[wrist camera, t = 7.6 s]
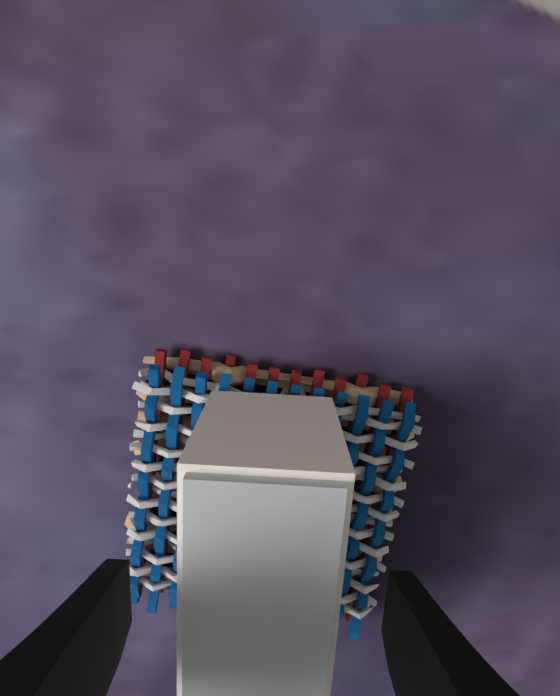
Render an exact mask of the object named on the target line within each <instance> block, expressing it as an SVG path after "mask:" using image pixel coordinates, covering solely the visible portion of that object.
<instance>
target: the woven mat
mask: <svg viewBox="0 0 560 696" xmlns="http://www.w3.org/2000/svg"><path fill="white" fill-rule="evenodd" d="M190 355H191V352H190V351H185V350H181V353H180V357H167V350H165V349H156V350H155V357H144V359H143V363H146V364H150V367H149V368H146V369H142V370H139V376H141V377H142V376H146V375H148V383H146V382H143V381H141V382H140V383H138V382H134V384H133V386H132V389H134V390H137V392H136V394H137V395H138V396H139V397H141V398H142V399H143V400H144V401H138V408H139V407H144V411H139V412H138V418H137V421H136V422H135V424H136V425H137V427H140V428H142V429H144V431H141V430H136V429H134V434H133V437H138V438H141V439H138V440H136V441H134V442H132V443H130V451H133V450H134V453H135V455H141V458H142V462H140V461H138V460H136V459H135V460H134V461H132V462H131V464H132V467H134V468H137V469H139V473H138V474H132V480H133V481H134V482H130V484H129V485H128V487H129V488H130V489H133V488H138V491H139V497H138V499H137V498H135V497H133V496H131V495H130V494H128V496H127V499H126V501H127V502H129V503H131V504H133V505H134V506H136V510H135V511H129V514H128V515H127V518H126V521H125V526H126V527H127V528H128V531H127V533H126V534H127V535H128V536H130V537H131V538H128V539H127V542H126V543H128V544H133V545H132V548H131V549H126V556H130V557H131V564H129V566H130V590H131V603H138V601H139V600H140V597H141V594H142V588H143V585H144V586H145V587H147V588H148V589H150V595H149V600H148V606H147V613H156V612H157V605H158V597H159V592H160V593H163V589H164V588H166V587H169V586H170V591H169V599H170V605H169V608H174V609H177V536H176V535H174V534H172V533H171V532H177V516H176V517H171V512H172V510H174V511H176V512H177V489H175V488H177V462H178V457H180V456H181V454H182V452H183V450H184V448H185V446H186V443H187V441H188V439H189V437H190V435H191V433H192V431H193V429H194V427H195V425H196V423H197V420H198V418H199V416H200V414H201V412H202V410H203V408H204V406H205V404H206V402H207V400H208V397H209V395H210V393H211V391H208V390H215V391H232V392H242V391H240V390H238V389H235V388H233V387H232V386H238V385H244V388H243V392H249V393H254V387H255V384H257V385H263V386H267V387H266V392H265V393H266V394H277V388H282V391H281V393H280V394H283V395H286V394H288V395H300V396H306V395H305V392H308V393H310V396H317V397H324V395H327V396H332V399H333V402H334V405H335V408H336V412H337V415H338V418H339V421H340V425H341V426H344V427H347V431H343V430H342V431H343V435H344V438H345V441H346V444H347V448H348V451H349V454H350V457H351V461H352V464H353V467H354V470H355V482H357V485H356V489H355V491H353V500H352V509H351V517H350V526H349V535H348V544H347V553H346V561H345V570H344V579H343V588H342V596H341V605H340V614H339V621H340V620H341V618H342V617H343V616H344V613H345V620H346V621H350V627H349V631H348V639H354V640H358V637H359V633H360V625H361V619H362V618H363V617H364V616H365V615H366V614H367V613H369V612H370V611H371V610H372V608H373V607H372V608H368V607H369V606H370V605H372V606H374V607H375V606H376V605H377V601H376V600H375V599H374V598H372V597H371V596H369V594H368V593H369V592H371V591H372V590H374V589H376V588H377V587H378V586H379V584H375V585H369V581H370V579H371V578H372V577H373V576H378V575H379V572H376V571H377V569H378V570H380V571H382V572H383V573H384V572H385V571H386V566H384V565H383V564H381V563H380V562H381V561H382V557H383V555H384V554H387V553H389V547H388V546H385V547H381V548H379V546H380V544H381V543H382V541H383V539H387V540H389V541H393V538H394V534H392V533H390V532H388V531H386V526H387V527H392V525H393V521H392V519H395V518H397V517H398V516H399V513H398V511H397V510H395V511H392V509H393V508H394V505H396V506H398V507H400V508H402V506H403V505H404V500H402V499H399V498H397V497H395V496H394V493H395V492H396V491H399V490H403V489H406V482H402V479H401V475H399V474H400V473H401V472H402V471H403V467H404V466H405V467H407V468H409V469H411V470H412V469H413V466H414V462H412V461H410V460H407V459H405V458H404V457H405V451H406V450H409V449H413V448H416V446H417V445H418V443H417V442H416V441H415V440H413V441H409V440H410V439H412V438H414V436H415V434H418V435H420V434H421V431H422V427H419V426H416V425H415V422H419V420H420V418H421V417H420V416H418V415H415V411H416V403H412V402H413V394H414V390H413V389H412V388H408V387H402V390H401V392H400V391H395V390H391V386H390V385H389V384H383V383H380V387H366V385H367V382H368V375H364V374H359V375H358V377H357V379H356V381H355V383H354V385H353V384H351V383H349V382H347V380H346V378H343V377H336V380H335V381H331V380H324V375H325V371H320V370H314V376H313V378H311V377H305V376H301V375H302V371H301V370H295V369H292V373H291V374H286V373H279V372H280V369H279V367H273V366H270V369H269V371H266V370H260V369H257V367H258V365H257V364H255V363H248V364H247V367H245V366H236V367H235V356H232V355H226V362H225V365H224V364H222V363H220V362H211V361H212V357H210V356H202V361H200V360H194V359H190ZM166 368H168V369H172V370H174V372H173V374H171V373H170V372H169V371H167V370H166ZM188 373H189V374H194V375H196V380H195V379H189V378H188ZM166 379H167V380H168V381H169V382H171V385H168V386H166V385H167V384H166ZM209 380H211V381H214V382H216V383H213V382H209ZM187 386H192V387H195V389H192V388H186V387H187ZM346 402H348V403H350V406H347V407H343V406H344V405H345V403H346ZM185 403H192V404H193V406H191V407H184V404H185ZM169 404H171V405H169ZM394 405H395V406H397V410H396V412H395V411H393V409H394ZM372 406H375V408H372ZM162 411H164V412H166V413H162ZM183 414H191V416H188V415H183ZM369 415H373V416H369ZM390 418H394V419H390ZM160 430H166V431H165V432H159V431H160ZM363 430H368V431H369V434H366V435H361V433H362V431H363ZM182 433H183V434H182ZM184 434H185V435H184ZM385 434H390V438H389V437H387V436H385ZM180 441H181V442H180ZM407 441H408V442H407ZM385 444H386V445H388V446H387V447H384V445H385ZM157 454H159V455H162V456H164V460H163V462H157V463H156V457H157ZM358 459H361V460H362V463H361V466H359V467H355V465H356V463H357V461H358ZM377 465H380V466H377ZM136 480H138V481H136ZM153 490H154V491H153ZM372 491H373V495H370V493H371V492H372ZM152 507H158V513H159V515H154V514H153V509H152ZM391 511H392V512H391ZM368 515H370V516H368ZM169 531H170V532H169ZM363 538H365V542H364V544H363V543H361V542H359V540H362V539H363ZM147 548H151V549H155V555H153V554H151V553H150V552H148V551H147ZM167 552H169V553H173V554H174V555H169V556H166V554H167ZM356 557H360V560H357V561H353V559H355V558H356ZM146 559H147V560H148V561H150V562H151V563H153V564H150V563H146ZM171 562H173V566H165V564H166V563H171ZM146 576H149V577H150V579H148V578H147V577H146ZM352 578H354V579H352ZM164 579H166V580H164ZM348 590H349V591H348ZM347 591H348V592H347ZM367 608H368V609H367Z"/></svg>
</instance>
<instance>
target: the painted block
mask: <svg viewBox="0 0 560 696" xmlns="http://www.w3.org/2000/svg"><path fill="white" fill-rule="evenodd" d="M354 482H355V470H354V467H353V464H352V461H351V457H350V454H349V451H348V448H347V444H346V441H345V438H344V435H343V431H342V428H341V425H340V421H339V418H338V415H337V412H336V408H335V405H334V402H333V399H332V397H317V396H300V395H283V394H266V393H249V392H232V391H215V390H212V391H211V393H210V395H209V397H208V400H207V402H206V404H205V406H204V408H203V410H202V412H201V414H200V416H199V418H198V420H197V423H196V425H195V427H194V429H193V431H192V433H191V435H190V437H189V439H188V441H187V443H186V446H185V448H184V450H183V452H182V454H181V456H180V458H179V460H178V462H177V696H330V693H331V684H332V675H333V667H334V658H335V649H336V640H337V632H338V623H339V614H340V605H341V596H342V588H343V579H344V570H345V561H346V553H347V544H348V535H349V526H350V517H351V509H352V500H353V491H354Z"/></svg>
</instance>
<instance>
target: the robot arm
mask: <svg viewBox="0 0 560 696" xmlns="http://www.w3.org/2000/svg"><path fill="white" fill-rule="evenodd" d="M131 622H132V613H131V590H130V566H129V560H121V559H106V560H105V561H104V562H103V563H102V564H101V565H100V566H99V567H98V568H97V569H96V570H95V571H94V572H93V573H92V574H91V575H90V576H89V577H88V578H87V579H86V580H85V581H84V582H83V583H82V584H81V585H80V586H79V587H78V588H77V589H76V590H75V591H74V592H73V593H72V594H71V595H70V596H69V597H68V598H67V599H66V600H65V601H64V602H63V603H62V604H61V605H60V606H59V607H58V608H57V609H56V610H55V611H54V612H53V613H52V614H51V615H50V616H49V617H48V618H47V619H46V620H45V621H44V622H43V623H41V624H40V625H39V626H38V627H37V628H36V629H35V630H34V631H33V632H32V633H30V634H29V635H28V636H27V637H26V638H25V639H24V640H23V641H21V642H20V643H19V644H18V645H17V646H16V647H15V648H14V649H13V650H11V651H10V652H9V653H8V654H7V655H6V656H4V657H3V658H2V659H1V660H0V696H106V694H107V692H108V689H109V687H110V684H111V682H112V679H113V677H114V674H115V672H116V669H117V667H118V664H119V662H120V659H121V655H122V652H123V649H124V646H125V642H126V639H127V635H128V632H129V628H130V625H131ZM381 631H382V636H383V642H384V648H385V653H386V659H387V664H388V669H389V674H390V677H391V681H392V684H393V688H394V691H395V695H396V696H520V695H519V694H517V693H516V692H515V691H514V690H513V689H512V688H511V687H510V686H509V685H508V684H507V683H506V682H505V681H504V680H503V679H502V678H501V677H500V676H499V675H498V673H497V672H496V671H495V670H494V669H493V668H492V667H491V666H490V665H489V664H488V663H487V662H486V661H485V659H484V658H483V657H482V656H481V655H480V654H479V653H478V652H477V651H476V649H475V648H474V647H473V646H472V645H471V644H470V643H469V641H468V640H467V639H466V638H465V637H464V636H463V634H462V633H461V632H460V631H459V630H458V629H457V627H456V626H455V625H454V624H453V623H452V621H451V620H450V619H449V618H448V617H447V615H446V614H445V613H444V612H443V610H442V609H441V608H440V607H439V605H438V604H437V603H436V602H435V600H434V599H433V598H432V597H431V595H430V594H429V593H428V591H427V590H426V589H425V588H424V586H423V585H422V584H421V583H420V581H419V580H418V579H417V577H416V576H415V575H414V574H413V573H412V571H392V570H389V578H388V585H387V592H386V600H385V607H384V615H383V622H382V629H381Z"/></svg>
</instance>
